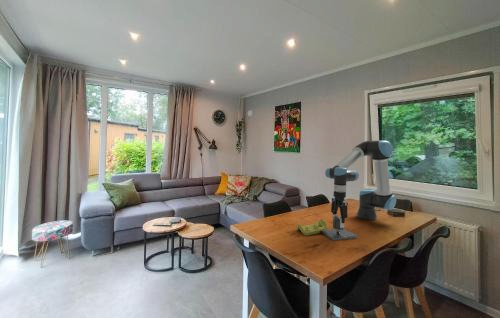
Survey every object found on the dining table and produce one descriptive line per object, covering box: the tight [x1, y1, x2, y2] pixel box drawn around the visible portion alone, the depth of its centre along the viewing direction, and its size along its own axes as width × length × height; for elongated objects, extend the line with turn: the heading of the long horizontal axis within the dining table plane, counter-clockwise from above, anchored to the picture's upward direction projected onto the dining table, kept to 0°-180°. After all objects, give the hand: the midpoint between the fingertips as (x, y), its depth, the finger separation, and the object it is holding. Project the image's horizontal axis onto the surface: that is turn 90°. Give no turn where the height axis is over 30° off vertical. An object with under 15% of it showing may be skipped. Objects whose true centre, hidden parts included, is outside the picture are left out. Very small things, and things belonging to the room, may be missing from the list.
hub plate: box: [319, 228, 358, 242], centre depth 149 cm, size 18×15×6 cm
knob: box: [332, 215, 345, 230], centre depth 150 cm, size 7×7×7 cm
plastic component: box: [296, 218, 328, 236], centre depth 156 cm, size 20×7×10 cm
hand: (338, 225), depth 150 cm, fingers closed on knob, 7 cm apart
